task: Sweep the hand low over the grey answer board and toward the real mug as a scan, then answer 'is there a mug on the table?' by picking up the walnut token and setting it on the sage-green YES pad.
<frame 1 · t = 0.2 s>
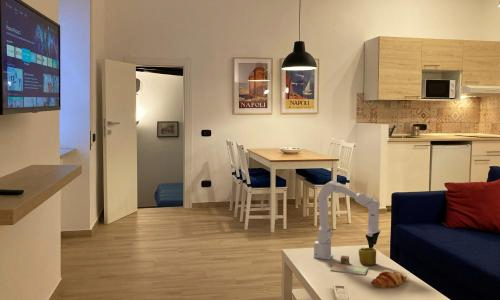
hand: (372, 246, 255), 10 cm above the table, fingers open, 7 cm apart
mug: (366, 262, 258), on the table
croissant: (389, 285, 227), on the table
answer board: (349, 269, 247), on the table
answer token: (344, 264, 256), on the table
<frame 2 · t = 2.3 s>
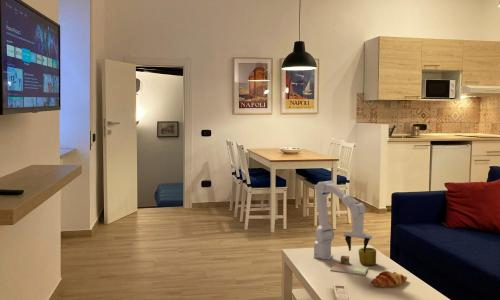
hand: (357, 251, 247), 10 cm above the table, fingers open, 7 cm apart
nothing on the table moved.
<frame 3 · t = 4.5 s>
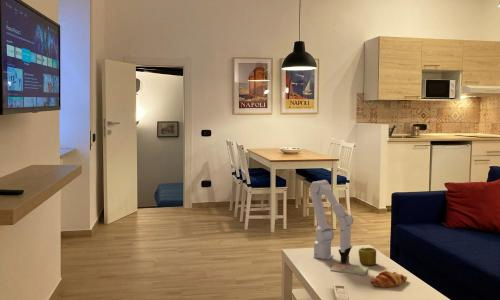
hand: (344, 261, 256), 1 cm above the table, fingers closed on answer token, 4 cm apart
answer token: (344, 263, 256), on the table, touching gripper
everything else where it was.
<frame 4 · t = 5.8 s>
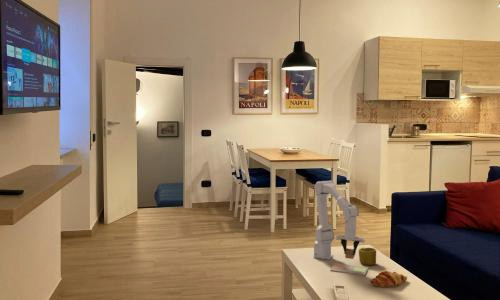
hand: (349, 254, 246), 8 cm above the table, fingers closed on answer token, 4 cm apart
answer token: (349, 257, 246), point 7 cm above the table, touching gripper
everything else where it was.
when the fingers open (3 cm above the table, at t = 7.5 s): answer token stays where it is, resting on answer board.
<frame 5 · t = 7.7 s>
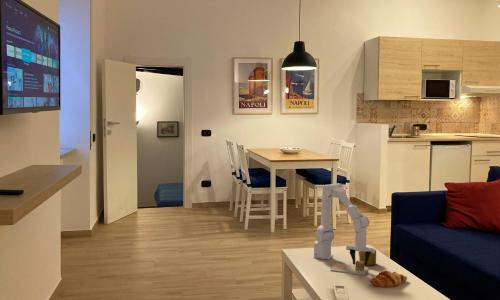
hand: (360, 264, 245), 3 cm above the table, fingers open, 5 cm apart
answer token: (359, 269, 245), point 1 cm above the table, touching answer board
everything else where it was.
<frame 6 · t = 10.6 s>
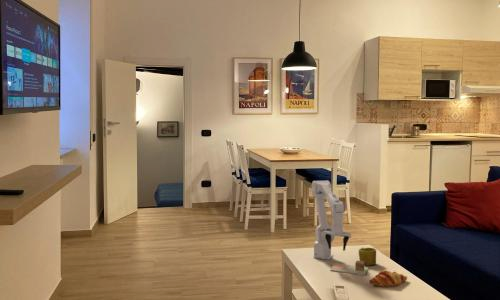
hand: (337, 249, 250), 10 cm above the table, fingers open, 7 cm apart
nothing on the table moved.
at the end: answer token inside the target area on the answer board (0.1 cm from its centre), point 0.8 cm above the answer board's base; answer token tilted 0°; the gripper is holding nothing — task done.
